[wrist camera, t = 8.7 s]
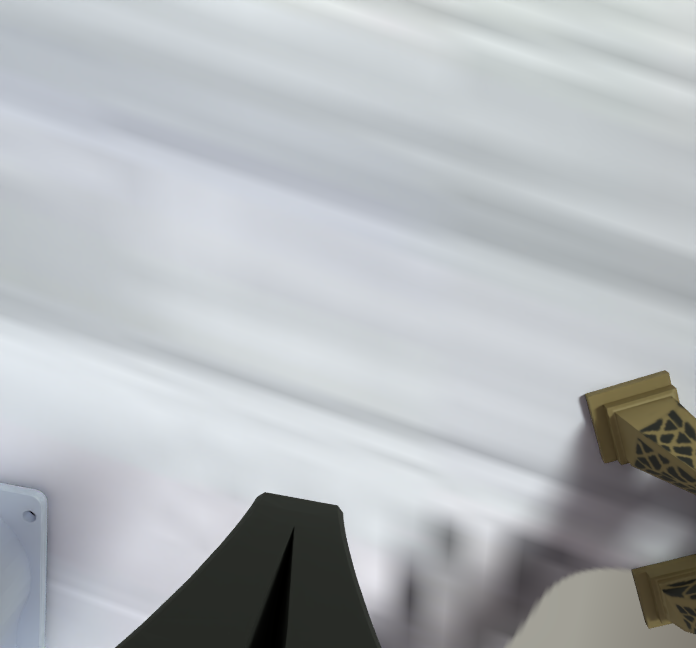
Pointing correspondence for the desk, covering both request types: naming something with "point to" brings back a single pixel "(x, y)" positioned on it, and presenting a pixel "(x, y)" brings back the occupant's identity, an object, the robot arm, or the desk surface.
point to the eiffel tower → (660, 461)
